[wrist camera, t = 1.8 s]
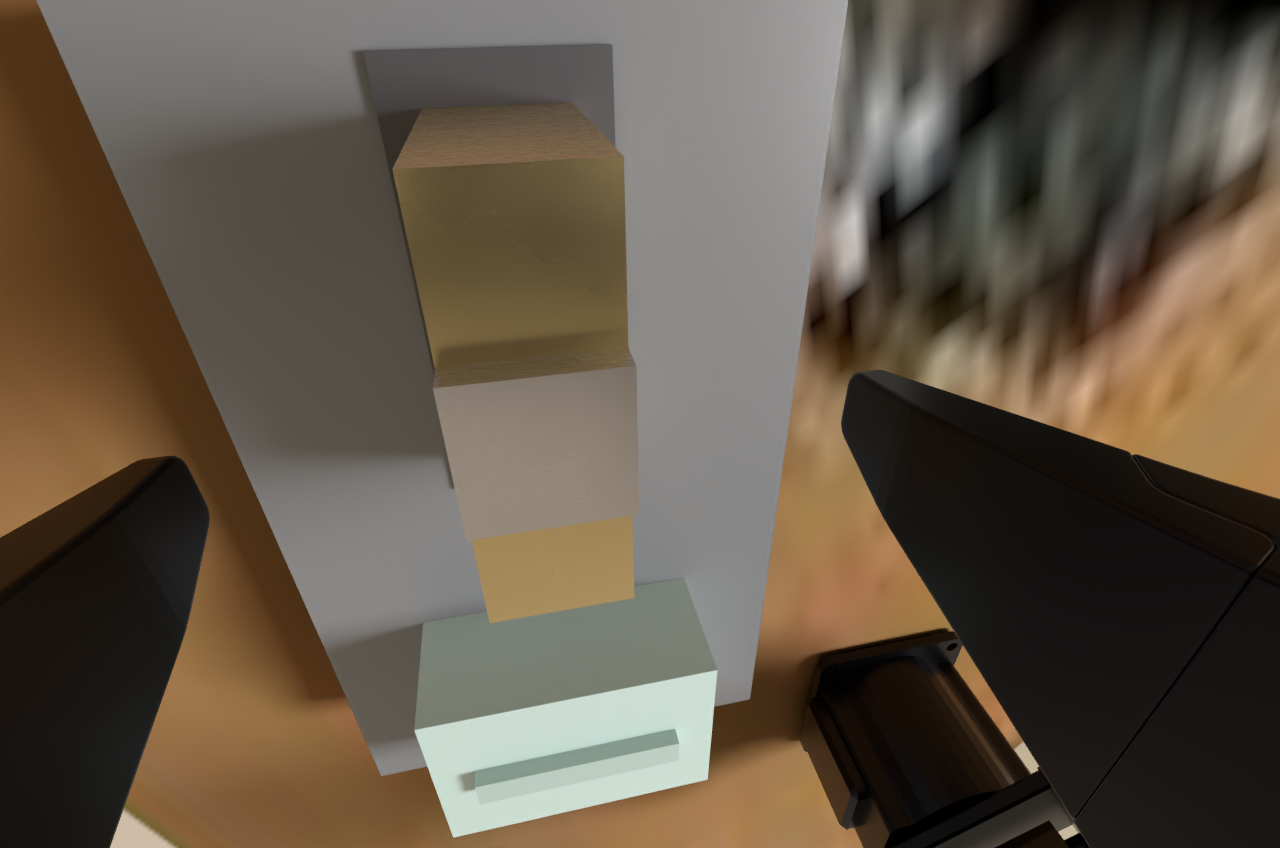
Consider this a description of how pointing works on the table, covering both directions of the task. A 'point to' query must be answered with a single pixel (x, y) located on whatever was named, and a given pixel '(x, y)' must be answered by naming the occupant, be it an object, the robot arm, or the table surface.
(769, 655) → the table surface
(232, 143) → the housing
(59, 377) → the table surface
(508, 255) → the gold faceted block
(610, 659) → the cover
